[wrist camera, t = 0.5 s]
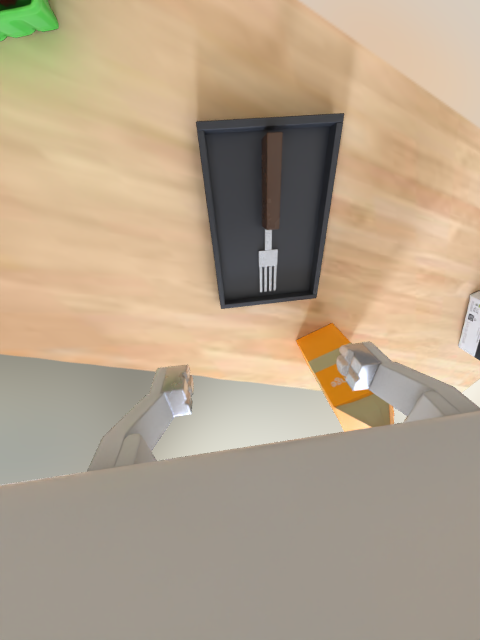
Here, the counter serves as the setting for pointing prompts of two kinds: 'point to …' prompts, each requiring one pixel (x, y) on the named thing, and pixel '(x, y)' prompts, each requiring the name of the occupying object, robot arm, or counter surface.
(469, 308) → the tea box
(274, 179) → the fork
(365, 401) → the orange juice
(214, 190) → the tray
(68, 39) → the counter surface
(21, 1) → the fruit basket
